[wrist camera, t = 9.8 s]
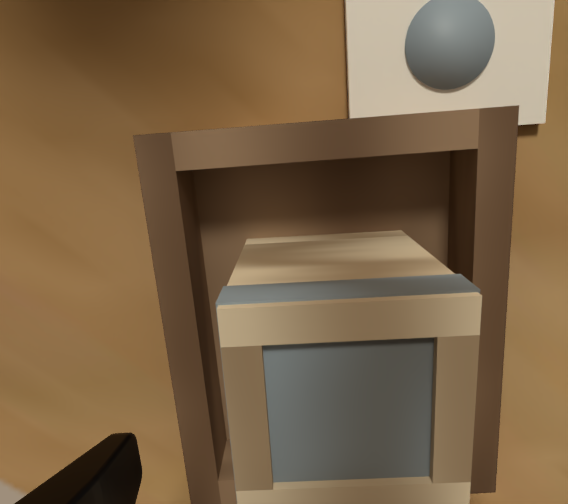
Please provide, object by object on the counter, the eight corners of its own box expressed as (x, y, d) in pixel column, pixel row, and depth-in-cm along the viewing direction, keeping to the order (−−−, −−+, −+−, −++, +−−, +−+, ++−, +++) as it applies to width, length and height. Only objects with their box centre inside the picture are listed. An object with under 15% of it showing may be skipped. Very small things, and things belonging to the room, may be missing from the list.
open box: (206, 452, 17) (191, 507, 14) (161, 136, 14) (132, 135, 11) (463, 438, 16) (495, 492, 14) (476, 111, 13) (518, 105, 11)
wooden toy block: (257, 376, 15) (236, 522, 9) (245, 237, 14) (214, 307, 8) (401, 370, 15) (470, 514, 9) (402, 228, 14) (484, 292, 8)
